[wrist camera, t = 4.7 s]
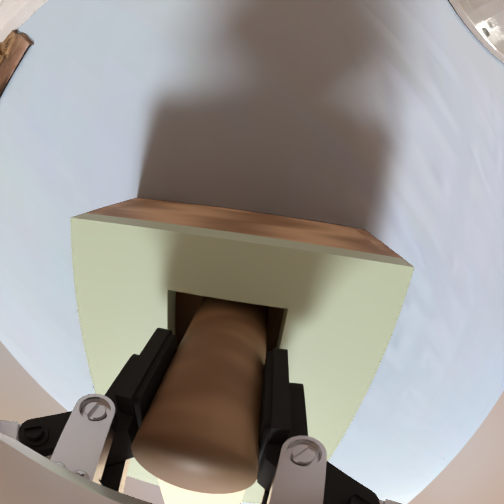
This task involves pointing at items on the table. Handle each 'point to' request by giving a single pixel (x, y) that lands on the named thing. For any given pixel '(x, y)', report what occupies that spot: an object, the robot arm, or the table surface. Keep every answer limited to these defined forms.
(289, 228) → the box with square hole
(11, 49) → the wooden fragment
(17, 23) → the white curved device casing
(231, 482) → the pin
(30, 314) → the table surface
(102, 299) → the lid
